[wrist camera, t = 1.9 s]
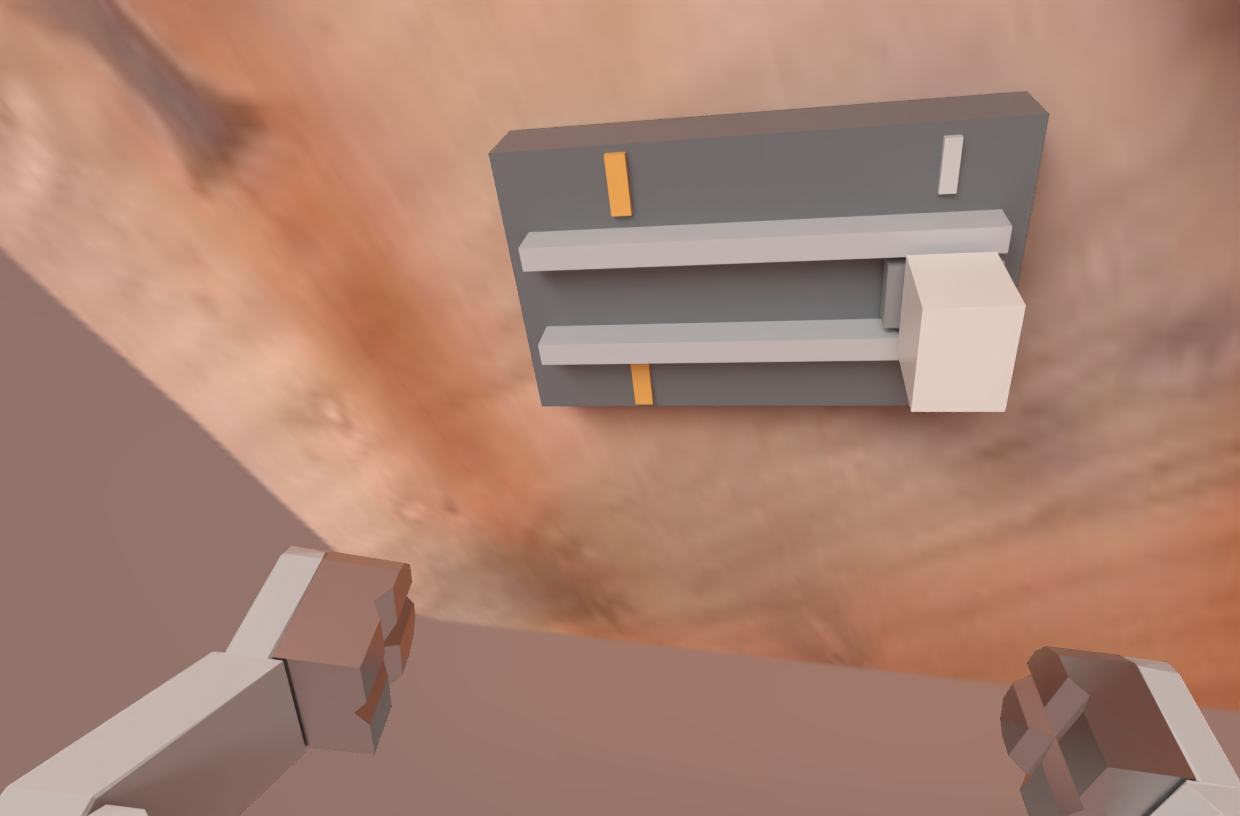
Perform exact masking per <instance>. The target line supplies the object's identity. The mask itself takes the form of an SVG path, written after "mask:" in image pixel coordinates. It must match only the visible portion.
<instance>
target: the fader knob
mask: <svg viewBox="0 0 1240 816" xmlns="http://www.w3.org/2000/svg"><path fill="white" fill-rule="evenodd" d="M1025 307H1026V305H1025V303H1024V301H1023V300H1022V298H1021V296H1020V294H1019V292H1018V290H1017V288H1016V286H1015V285H1014V283H1013V281H1012V279H1011V277H1010V275H1009V273H1008V271H1007V270H1006V268H1005V261H1004V259H1003V257H1002V255H1001V253H1000V254H998V253H997V252H978V253H952V254H926V255H906V257H895V258H884V270H883V283H882V296H881V308H880V315H881V320H882V325H883V328H899V338H898V348H897V353H898V357H899V362H900V366H901V370H902V375H903V379H904V383H905V388H906V392H907V396H908V401H909V405H910V409H911V412H1005V410H1006V405H1007V399H1008V394H1009V389H1010V384H1011V379H1012V374H1013V369H1014V364H1015V359H1016V353H1017V348H1018V343H1019V338H1020V333H1021V328H1022V323H1023V318H1024V313H1025Z"/></svg>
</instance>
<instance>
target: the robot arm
mask: <svg viewBox="0 0 1240 816" xmlns="http://www.w3.org/2000/svg"><path fill="white" fill-rule="evenodd" d="M411 583H412V576H411V569H410V564H407V563H401V562H395V561H388V560H382V559H376V558H370V557H363V556H357V555H351V554H344V553H338V552H332V551H323V550H317V549H310V548H303V547H296V546H291V547H290V548H289V549H288V550H287V551H286V552H284V553H283V554H282V555H281V556H280V558H279V560H278V561H277V563H276V565H275V567H274V568H273V570H272V572H271V574H270V575H269V577H268V579H267V580H266V582H265V584H264V586H263V587H262V589H261V591H260V593H259V594H258V596H257V598H256V600H255V601H254V603H253V605H252V606H251V608H250V610H249V612H248V613H247V615H246V617H245V619H244V621H243V622H242V624H241V626H240V627H239V629H238V631H237V633H236V634H235V636H234V638H233V640H232V641H231V643H230V645H229V646H228V648H227V650H226V652H216V651H213V652H211V653H210V654H208V655H207V656H205V657H203V658H202V659H201V660H199V661H197V662H196V663H194V664H193V665H191V666H190V667H188V668H187V669H185V670H184V671H182V672H181V673H179V674H178V675H176V676H175V677H173V678H172V679H170V680H168V681H167V682H165V683H164V684H162V685H161V686H159V687H158V688H156V689H155V690H153V691H152V692H150V693H149V694H147V695H146V696H144V697H143V698H141V699H140V700H138V701H137V702H135V703H134V704H132V705H131V706H129V707H128V708H126V709H124V710H123V711H121V712H120V713H118V714H117V715H115V716H114V717H112V718H111V719H109V720H108V721H106V722H105V723H103V724H102V725H100V726H99V727H97V728H96V729H94V730H92V731H91V732H90V733H88V734H86V735H85V736H83V737H82V738H80V739H79V740H77V741H76V742H74V743H73V744H71V745H70V746H68V747H67V748H65V749H64V750H62V751H61V752H59V753H58V754H56V755H55V756H53V757H51V758H50V759H48V760H47V761H45V762H44V763H42V764H41V765H39V766H38V767H36V768H35V769H33V770H32V771H30V772H29V773H27V774H26V775H24V776H23V777H21V778H19V779H18V780H16V781H15V782H13V783H12V784H10V785H9V786H7V787H6V789H5V790H4V792H3V793H2V794H1V796H0V816H240V815H241V814H242V813H243V812H244V811H245V810H246V809H247V808H248V807H249V806H250V805H251V804H252V803H253V802H254V801H255V800H256V799H258V798H259V797H260V796H261V795H262V794H263V793H264V792H265V791H266V790H267V789H268V788H269V787H270V786H271V785H272V784H273V783H274V782H275V781H276V780H277V779H279V778H280V777H281V776H282V775H283V774H284V773H285V772H286V771H287V770H288V769H289V768H290V767H291V766H292V765H293V764H294V763H295V762H296V761H297V760H299V759H300V758H301V757H302V756H303V755H304V754H305V753H306V748H315V749H325V750H333V751H343V752H352V753H362V754H372V755H374V754H375V751H376V749H377V746H378V743H379V740H380V737H381V735H382V732H383V729H384V726H385V723H386V721H387V718H388V715H389V712H390V709H391V707H392V705H391V697H390V688H389V685H391V684H392V683H393V682H394V681H396V680H397V679H398V678H399V677H401V676H402V675H403V672H404V669H405V666H406V663H407V660H408V657H409V653H410V649H411V644H412V639H413V634H414V624H415V609H414V603H413V602H412V601H411V600H410V599H409V598H408V597H407V594H408V591H409V589H410V586H411ZM1027 664H1028V667H1029V670H1030V672H1031V675H1029V676H1027V677H1025V678H1023V679H1020V680H1018V681H1016V682H1014V683H1012V685H1011V687H1010V688H1009V690H1008V692H1007V693H1006V695H1005V697H1004V698H1003V704H1002V711H1001V718H1000V720H1001V728H1002V736H1003V739H1004V743H1005V746H1006V749H1007V752H1008V755H1009V756H1010V757H1011V759H1013V760H1014V762H1016V764H1017V765H1018V766H1019V767H1020V768H1021V769H1022V770H1023V771H1024V772H1025V773H1026V776H1025V778H1024V781H1023V783H1022V786H1021V788H1020V792H1021V794H1022V797H1023V800H1024V803H1025V806H1026V809H1027V812H1028V815H1029V816H1240V780H1239V778H1238V776H1237V775H1236V773H1235V771H1234V769H1233V767H1232V766H1231V764H1230V762H1229V760H1228V759H1227V757H1226V755H1225V754H1224V752H1223V750H1222V748H1221V746H1220V745H1219V743H1218V741H1217V740H1216V738H1215V736H1214V734H1213V732H1212V731H1211V729H1210V727H1209V725H1208V724H1207V722H1206V720H1205V718H1204V717H1203V715H1202V713H1201V711H1200V710H1199V708H1198V706H1197V704H1196V703H1195V701H1194V699H1193V697H1192V696H1191V694H1190V692H1189V690H1188V689H1187V687H1186V685H1185V683H1184V681H1183V680H1182V678H1181V676H1180V674H1179V673H1178V672H1177V670H1176V669H1174V668H1173V667H1172V666H1171V665H1170V664H1169V663H1168V662H1162V661H1155V660H1147V659H1140V658H1132V657H1122V656H1120V655H1115V654H1107V653H1098V652H1090V651H1081V650H1073V649H1064V648H1056V647H1048V646H1045V647H1043V648H1041V649H1038V650H1036V651H1035V652H1034V654H1033V655H1032V656H1031V658H1030V659H1029V660H1028V662H1027Z"/></svg>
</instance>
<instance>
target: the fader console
mask: <svg viewBox="0 0 1240 816" xmlns="http://www.w3.org/2000/svg"><path fill="white" fill-rule="evenodd" d="M1048 118H1049V113H1048V112H1047V111H1046V110H1045V109H1044V108H1043V107H1042V106H1041V105H1040V104H1039V103H1038V102H1037V101H1036V100H1035V99H1034V98H1033V97H1032V96H1031V95H1030V94H1029V93H1028V92H1027V91H1026V92H1013V93H1000V94H986V95H973V96H960V97H947V98H934V99H921V100H908V101H895V102H881V103H868V104H855V105H842V106H829V107H816V108H803V109H790V110H776V111H763V112H750V113H737V114H724V115H711V116H698V117H685V118H671V119H658V120H645V121H632V122H619V123H606V124H593V125H580V126H566V127H553V128H540V129H527V130H514V131H509V132H508V133H507V134H506V136H505V137H504V138H503V139H502V140H501V141H500V142H499V143H498V144H497V145H496V146H495V147H494V148H493V149H492V150H491V151H490V152H489V157H490V162H491V167H492V172H493V176H494V181H495V186H496V191H497V195H498V200H499V205H500V209H501V214H502V219H503V224H504V228H505V233H506V238H507V243H508V247H509V252H510V257H511V262H512V266H513V271H514V276H515V281H516V285H517V290H518V295H519V300H520V304H521V309H522V314H523V319H524V323H525V328H526V333H527V338H528V342H529V347H530V352H531V357H532V361H533V366H534V371H535V376H536V380H537V385H538V390H539V394H540V399H541V404H542V406H910V405H909V401H908V396H907V392H906V388H905V383H904V379H903V375H902V370H901V366H900V362H899V357H898V353H897V348H898V338H899V328H883V325H882V320H881V315H880V308H881V296H882V283H883V270H884V258H895V257H906V255H926V254H952V253H978V252H997V253H998V254H1000V253H1001V255H1002V257H1003V259H1004V261H1005V268H1006V270H1007V271H1008V273H1009V275H1010V277H1011V279H1012V281H1013V283H1014V285H1015V286H1016V288H1017V285H1018V280H1019V274H1020V269H1021V263H1022V258H1023V253H1024V247H1025V242H1026V237H1027V231H1028V226H1029V220H1030V215H1031V210H1032V204H1033V199H1034V193H1035V188H1036V183H1037V177H1038V172H1039V167H1040V161H1041V156H1042V150H1043V145H1044V140H1045V134H1046V129H1047V124H1048Z"/></svg>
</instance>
